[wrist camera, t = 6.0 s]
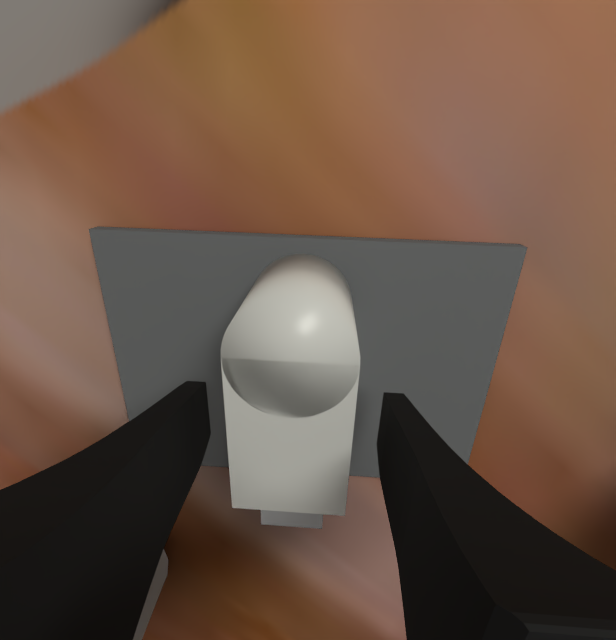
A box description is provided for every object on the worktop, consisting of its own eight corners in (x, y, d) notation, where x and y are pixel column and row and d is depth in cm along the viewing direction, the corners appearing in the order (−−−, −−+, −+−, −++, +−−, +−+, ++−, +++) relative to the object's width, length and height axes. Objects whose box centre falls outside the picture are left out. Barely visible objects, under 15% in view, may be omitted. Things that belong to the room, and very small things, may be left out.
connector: (251, 251, 12) (215, 292, 8) (355, 255, 12) (367, 299, 8) (258, 466, 16) (236, 559, 12) (337, 471, 16) (339, 567, 12)
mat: (519, 243, 12) (527, 247, 11) (458, 473, 16) (462, 483, 15) (97, 226, 12) (88, 229, 12) (142, 452, 16) (137, 461, 16)
